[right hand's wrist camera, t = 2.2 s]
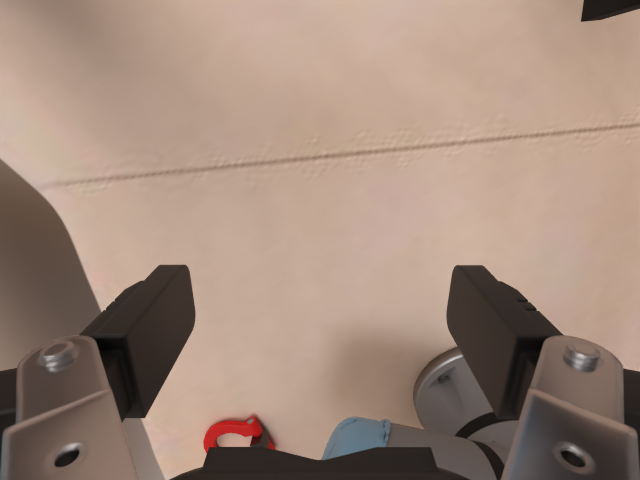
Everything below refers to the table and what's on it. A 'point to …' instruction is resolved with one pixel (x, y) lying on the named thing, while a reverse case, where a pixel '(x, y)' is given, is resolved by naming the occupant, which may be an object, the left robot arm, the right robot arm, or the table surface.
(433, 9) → the table surface
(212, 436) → the tow hook
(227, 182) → the table surface
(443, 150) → the table surface
